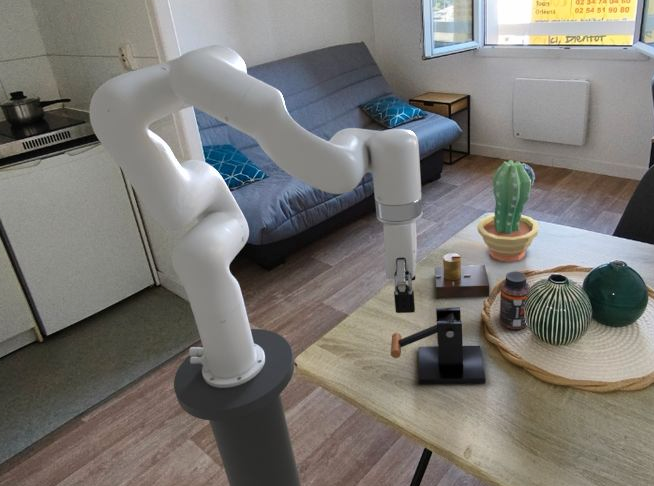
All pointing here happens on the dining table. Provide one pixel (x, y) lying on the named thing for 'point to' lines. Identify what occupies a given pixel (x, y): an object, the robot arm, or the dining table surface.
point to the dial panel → (463, 283)
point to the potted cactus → (509, 213)
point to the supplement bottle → (513, 300)
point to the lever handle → (415, 336)
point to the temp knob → (452, 266)
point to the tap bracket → (450, 355)
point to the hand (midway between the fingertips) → (406, 295)
